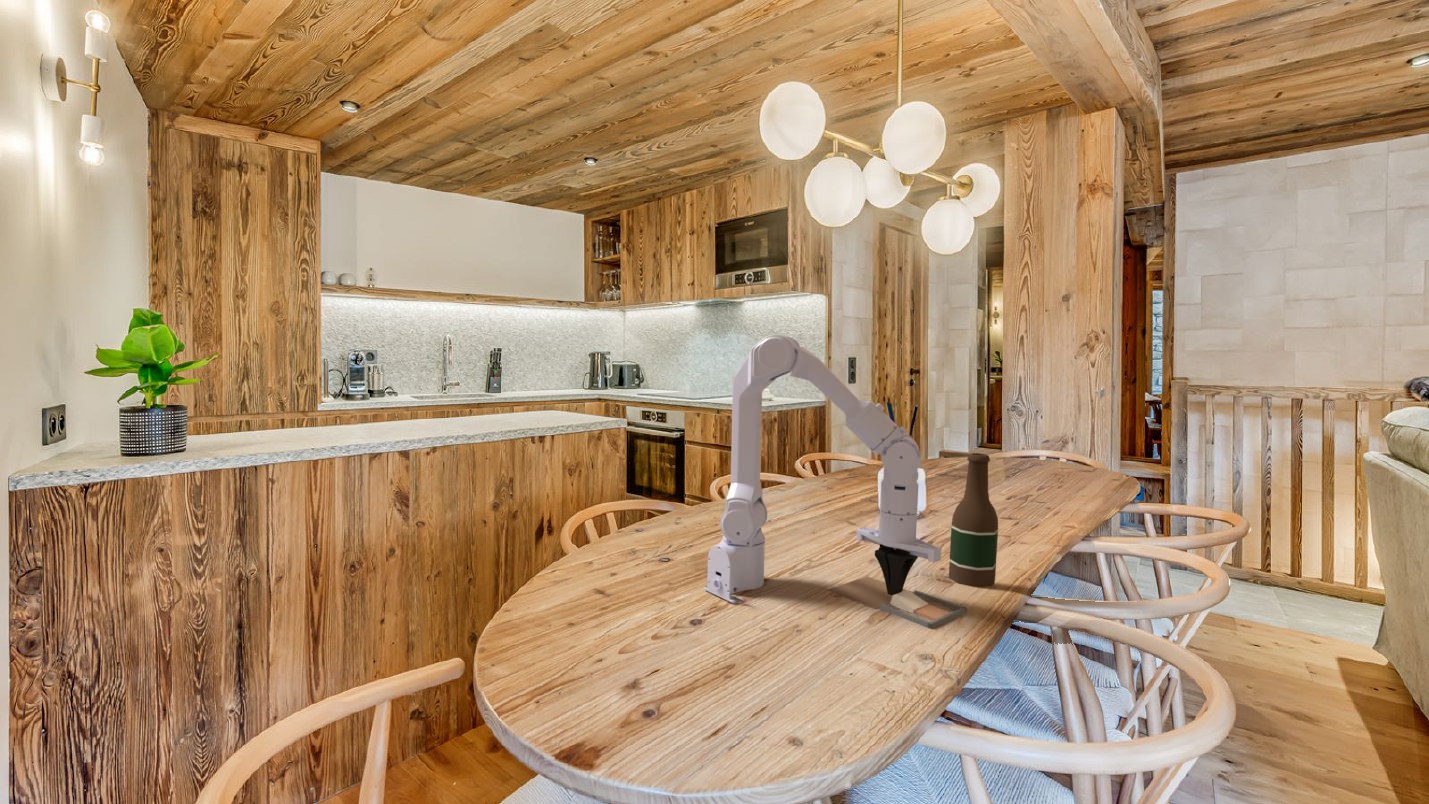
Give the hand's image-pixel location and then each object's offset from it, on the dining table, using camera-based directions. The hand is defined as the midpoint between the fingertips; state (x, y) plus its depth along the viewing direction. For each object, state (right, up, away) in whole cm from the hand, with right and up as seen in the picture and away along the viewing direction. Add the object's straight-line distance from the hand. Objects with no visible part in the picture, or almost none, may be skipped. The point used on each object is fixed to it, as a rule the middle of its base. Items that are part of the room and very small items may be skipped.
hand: (894, 593), depth 104 cm
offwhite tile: (+2, -2, -2) cm, 3 cm away
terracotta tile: (+4, -3, -5) cm, 7 cm away
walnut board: (-3, -2, +4) cm, 5 cm away
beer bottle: (+17, -2, +11) cm, 20 cm away
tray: (+3, -3, -4) cm, 6 cm away
